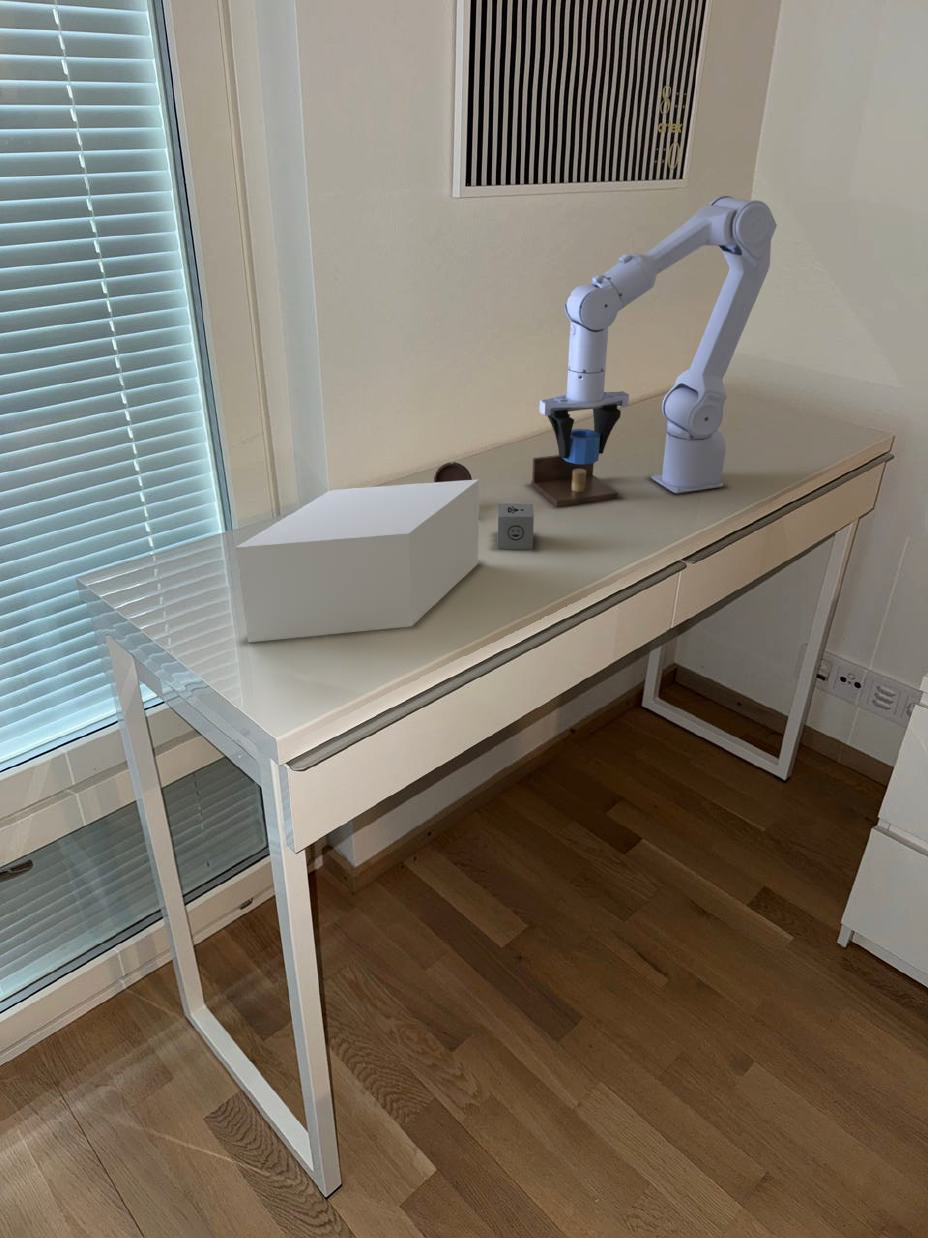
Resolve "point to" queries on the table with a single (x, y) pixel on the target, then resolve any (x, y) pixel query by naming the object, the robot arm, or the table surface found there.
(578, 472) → the holder
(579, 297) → the robot arm
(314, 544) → the block
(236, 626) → the table surface
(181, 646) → the table surface
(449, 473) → the compass
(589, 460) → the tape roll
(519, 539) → the dice cube
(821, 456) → the table surface
